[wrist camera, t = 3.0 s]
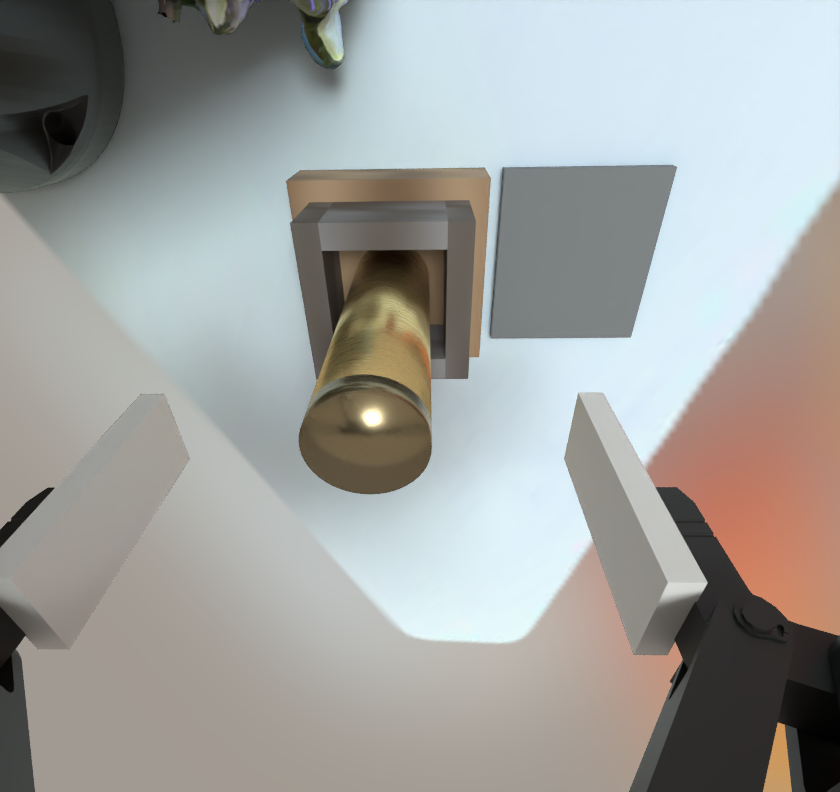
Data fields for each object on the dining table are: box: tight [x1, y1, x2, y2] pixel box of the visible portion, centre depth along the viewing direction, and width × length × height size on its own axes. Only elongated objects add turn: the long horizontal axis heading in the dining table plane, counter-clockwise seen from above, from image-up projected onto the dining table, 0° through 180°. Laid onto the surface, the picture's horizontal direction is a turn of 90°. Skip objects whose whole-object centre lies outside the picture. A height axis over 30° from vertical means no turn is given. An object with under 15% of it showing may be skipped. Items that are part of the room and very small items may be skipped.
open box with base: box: [286, 168, 491, 380], centre depth 25 cm, size 10×10×7 cm
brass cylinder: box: [299, 250, 432, 494], centre depth 20 cm, size 4×4×14 cm
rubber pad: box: [490, 165, 677, 338], centre depth 28 cm, size 9×10×1 cm
